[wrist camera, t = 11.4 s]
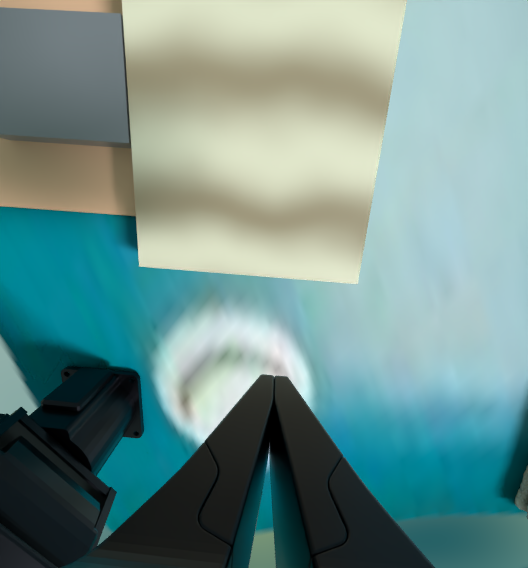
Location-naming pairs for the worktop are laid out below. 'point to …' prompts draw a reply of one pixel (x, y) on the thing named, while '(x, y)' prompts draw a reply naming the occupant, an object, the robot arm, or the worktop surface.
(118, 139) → the grey rectangular block
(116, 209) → the mat
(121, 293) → the worktop surface
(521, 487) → the washcloth
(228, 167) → the cream wavy flat block
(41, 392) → the worktop surface
